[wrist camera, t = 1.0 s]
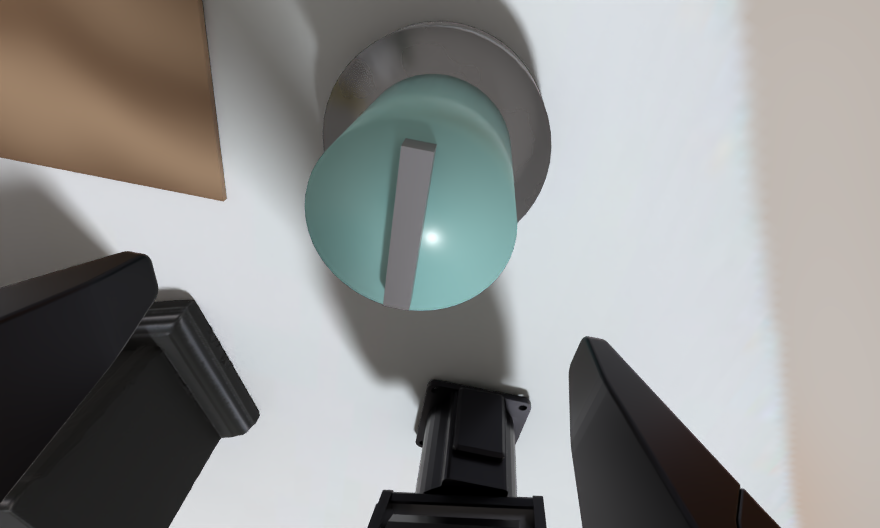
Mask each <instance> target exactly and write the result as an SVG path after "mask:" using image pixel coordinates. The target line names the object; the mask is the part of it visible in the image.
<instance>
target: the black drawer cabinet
mask: <svg viewBox="0 0 880 528" xmlns="http://www.w3.org/2000/svg"><path fill="white" fill-rule="evenodd" d="M259 416H260V414H259V412H258V410H257V409H256V407H255V405H254V403H253V402H252V400H251V398H250V396H249V395H248V393H247V391H246V389H245V388H244V386H243V384H242V383H241V381H240V379H239V378H238V376H237V374H236V372H235V370H234V368H233V367H232V365H231V363H230V362H229V360H228V358H227V356H226V354H225V353H224V351H223V349H222V347H221V345H220V344H219V342H218V341H217V339H216V337H215V335H214V333H213V332H212V330H211V328H210V326H209V325H208V323H207V321H206V319H205V318H204V316H203V314H202V313H201V311H200V309H199V307H198V306H197V304H196V303H195V302H194V301H193V300H178V301H167V302H153V303H152V305H151V307H150V308H149V310H148V311H147V313H146V314H145V316H144V317H143V319H142V320H141V322H140V324H139V325H138V327H137V328H136V330H135V331H134V333H133V334H132V336H131V338H130V339H129V341H128V342H127V344H126V345H125V347H124V348H123V350H122V351H121V353H120V354H119V356H118V357H117V359H116V360H115V361H114V362H113V364H112V365H111V366H110V368H109V369H108V370H107V372H106V373H105V374H104V375H103V376H102V378H101V379H100V380H99V381H98V383H97V384H96V385H95V386H94V388H93V389H92V390H91V391H90V393H89V394H88V395H87V396H86V398H85V399H84V400H83V401H82V403H81V404H80V405H79V406H78V408H77V409H76V410H75V411H74V413H73V414H72V415H71V416H70V418H69V419H68V420H67V421H66V423H65V424H64V425H63V426H62V428H61V429H60V430H59V431H58V433H57V434H56V435H55V436H54V438H53V439H52V440H51V441H50V442H49V444H48V445H47V446H46V447H45V449H44V450H43V451H42V452H41V454H40V455H39V456H38V457H37V459H36V460H35V461H34V462H33V464H32V465H31V466H30V467H29V469H28V470H27V471H26V472H25V474H24V475H23V476H22V477H21V479H20V480H19V481H18V482H17V484H16V485H15V486H14V487H13V489H12V490H11V491H10V492H9V494H8V495H7V496H6V497H5V499H4V500H3V501H2V502H1V504H0V528H169V526H170V524H171V522H172V521H173V519H174V517H175V515H176V514H177V512H178V511H179V509H180V507H181V505H182V503H183V502H184V500H185V498H186V496H187V495H188V493H189V491H190V490H191V488H192V486H193V484H194V482H195V481H196V479H197V477H198V476H199V474H200V473H201V471H202V469H203V467H204V465H205V464H206V462H207V461H208V459H209V457H210V455H211V453H212V452H213V450H214V448H215V447H216V445H217V444H218V442H219V440H220V439H221V438H225V437H234V436H238V435H243V434H245V433H246V432H247V431H248V430H249V429H250V428H251V427H252V426H253V425H254V424H255V423H256V422H257V420H258V418H259Z"/></svg>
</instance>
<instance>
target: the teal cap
mask: <svg viewBox="0 0 880 528" xmlns="http://www.w3.org/2000/svg"><path fill="white" fill-rule="evenodd" d="M305 217H306V223H307V227H308V231H309V234H310V237H311V240H312V242H313V244H314V246H315V248H316V250H317V252H318V254H319V255H320V257H321V258H322V260H323V261H324V263H325V264H326V265H327V267H328V268H329V269H330V270H331V271H332V272H333V274H335V275H336V276H337V277H338V278H339V279H340V280H341V281H342V282H343V283H345V284H346V285H347V286H349V287H350V288H351V289H353V290H354V291H356V292H357V293H359V294H361V295H362V296H364V297H366V298H369V299H371V300H373V301H375V302H378V303H381V304H383V306H387V307H392V308H397V309H402V310H407V311H409V310H419V311H424V310H436V309H442V308H447V307H451V306H454V305H458V304H460V303H462V302H465V301H467V300H469V299H471V298H473V297H475V296H476V295H478V294H480V293H481V292H482V291H484V290H485V289H486V288H488V287H489V286H490V285H491V284H492V283H493V282H494V281H495V280H496V279H497V277H498V276H499V275H500V274H501V272H502V271H503V270H504V268H505V266H506V264H507V263H508V261H509V259H510V256H511V254H512V251H513V249H514V245H515V240H516V235H517V213H516V201H515V189H514V177H513V165H512V153H511V141H510V136H509V131H508V128H507V126H506V123H505V120H504V118H503V117H502V115H501V113H500V111H499V110H498V108H497V107H496V105H495V104H494V103H493V102H492V101H491V100H490V98H489V97H488V96H487V95H486V94H484V93H483V92H482V91H481V90H479V89H478V88H477V87H475V86H473V85H472V84H470V83H468V82H466V81H464V80H461V79H459V78H456V77H452V76H448V75H442V74H423V75H416V76H413V77H409V78H406V79H404V80H402V81H400V82H397V83H395V84H394V85H392V86H391V87H389V88H388V89H387V90H385V91H384V92H383V93H382V94H381V95H380V96H379V97H378V98H377V99H376V100H375V101H374V102H373V103H372V104H371V105H370V106H369V107H368V108H367V109H366V110H365V111H364V112H363V113H362V114H361V115H360V116H359V117H358V118H357V119H356V120H355V121H354V122H353V123H352V124H351V125H350V126H349V127H348V128H347V129H346V130H345V131H344V132H343V133H342V134H341V135H340V136H339V137H338V138H337V139H336V140H335V141H334V143H333V144H332V145H331V146H330V147H329V148H328V149H327V150H326V151H325V152H324V153H323V155H322V156H321V157H320V158H319V160H318V162H317V163H316V165H315V167H314V169H313V170H312V173H311V176H310V178H309V181H308V185H307V189H306V194H305Z"/></svg>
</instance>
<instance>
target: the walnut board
mask: <svg viewBox="0 0 880 528" xmlns="http://www.w3.org/2000/svg"><path fill="white" fill-rule="evenodd" d="M0 157H1V158H6V159H11V160H16V161H21V162H26V163H32V164H37V165H42V166H47V167H52V168H57V169H62V170H67V171H72V172H77V173H82V174H87V175H93V176H98V177H103V178H108V179H113V180H118V181H123V182H128V183H133V184H138V185H143V186H148V187H153V188H159V189H164V190H169V191H174V192H179V193H184V194H189V195H194V196H199V197H204V198H209V199H214V200H220V201H224V200H226V199H227V197H226V189H225V181H224V173H223V165H222V157H221V149H220V141H219V133H218V125H217V117H216V109H215V101H214V93H213V85H212V77H211V68H210V60H209V52H208V44H207V36H206V28H205V20H204V12H203V4H202V0H0Z"/></svg>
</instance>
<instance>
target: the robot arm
mask: <svg viewBox="0 0 880 528" xmlns="http://www.w3.org/2000/svg"><path fill="white" fill-rule="evenodd" d="M157 294H158V283H157V280H156V276H155V272H154V268H153V265H152V261H151V259H150V258H149V257H148V256H147V255H145V254H141V253H135V252H130V251H125V252H121V253H117V254H114V255H111V256H107V257H104V258H101V259H97V260H94V261H90V262H87V263H84V264H80V265H77V266H73V267H70V268H67V269H63V270H60V271H56V272H53V273H50V274H46V275H43V276H39V277H36V278H33V279H29V280H26V281H22V282H19V283H16V284H12V285H9V286H5V287H2V288H0V504H1V502H2V501H3V500H4V499H5V497H6V496H7V495H8V494H9V492H10V491H11V490H12V489H13V487H14V486H15V485H16V484H17V482H18V481H19V480H20V479H21V477H22V476H23V475H24V474H25V472H26V471H27V470H28V469H29V467H30V466H31V465H32V464H33V462H34V461H35V460H36V459H37V457H38V456H39V455H40V454H41V452H42V451H43V450H44V449H45V447H46V446H47V445H48V444H49V442H50V441H51V440H52V439H53V438H54V436H55V435H56V434H57V433H58V431H59V430H60V429H61V428H62V426H63V425H64V424H65V423H66V421H67V420H68V419H69V418H70V416H71V415H72V414H73V413H74V411H75V410H76V409H77V408H78V406H79V405H80V404H81V403H82V401H83V400H84V399H85V398H86V396H87V395H88V394H89V393H90V391H91V390H92V389H93V388H94V386H95V385H96V384H97V383H98V381H99V380H100V379H101V378H102V376H103V375H104V374H105V373H106V372H107V370H108V369H109V368H110V366H111V365H112V364H113V362H114V361H115V360H116V359H117V357H118V356H119V354H120V353H121V351H122V350H123V348H124V347H125V345H126V344H127V342H128V341H129V339H130V338H131V336H132V334H133V333H134V331H135V330H136V328H137V327H138V325H139V324H140V322H141V320H142V319H143V317H144V316H145V314H146V313H147V311H148V310H149V308H150V307H151V305H152V303H153V302H154V300H155V299H156V297H157ZM569 403H570V437H571V450H572V458H573V465H574V472H575V478H576V485H577V492H578V499H579V506H580V513H581V520H582V527H583V528H781V527H780V526H779V525H778V524H777V523H776V522H775V521H774V520H773V519H772V518H771V517H770V516H769V515H768V514H767V513H766V512H765V511H764V510H763V508H762V507H761V506H760V505H759V504H758V503H757V502H756V501H755V500H754V499H753V498H752V497H751V496H750V495H749V493H748V492H747V491H746V490H745V489H740V484H739V483H738V482H737V481H736V480H735V479H734V478H733V477H732V475H731V474H730V473H729V472H728V471H727V470H726V469H725V468H724V467H723V466H722V465H721V464H720V463H719V461H718V460H717V459H716V458H715V457H714V456H713V455H712V454H711V453H710V452H709V451H708V450H707V449H706V448H705V446H704V445H703V444H702V443H701V442H700V441H699V440H698V439H697V438H696V437H695V436H694V435H693V434H692V433H691V431H690V430H689V429H688V428H687V427H686V426H685V425H684V424H683V423H682V422H681V421H680V420H679V419H678V417H677V416H676V415H675V414H674V413H673V412H672V411H671V410H670V409H669V408H668V407H667V406H666V405H665V404H664V402H663V401H662V400H661V399H660V398H659V397H658V396H657V395H656V394H655V393H654V392H653V391H652V390H651V389H650V387H649V386H648V385H647V384H646V383H645V382H644V381H643V380H642V379H641V378H640V377H639V376H638V375H637V373H636V372H635V371H634V370H633V369H632V368H631V367H630V366H629V365H628V364H627V363H626V362H625V361H624V360H623V358H622V357H621V356H620V355H619V354H618V353H617V352H616V351H615V350H614V349H613V348H612V347H611V346H610V345H609V343H608V342H606V341H605V340H603V339H599V338H594V337H589V336H586V337H584V338H583V339H582V340H581V342H580V344H579V346H578V348H577V351H576V353H575V355H574V357H573V360H572V362H571V364H570V368H569ZM530 410H531V402H530V400H529V399H527V398H524V397H519V396H514V395H509V394H504V393H499V392H494V391H489V390H484V389H479V388H474V387H469V386H464V385H459V384H453V383H448V382H443V381H438V380H432V381H430V382H429V383H428V387H427V391H426V396H425V400H424V405H423V410H422V414H421V419H420V423H419V428H418V432H417V437H416V444H417V445H418V446H419V447H422V454H421V460H420V466H419V473H418V479H417V485H416V492H415V493H406V492H393V490H383V491H382V494H381V497H380V499H379V502H378V504H376V506H375V509H374V512H373V514H372V517H371V520H370V522H369V525H368V528H546V519H545V510H544V502H543V496H533V498H531V497H517V483H516V457H515V444H516V442H517V440H518V438H519V435H520V433H521V431H522V428H523V426H524V424H525V421H526V419H527V417H528V415H529V412H530Z"/></svg>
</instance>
